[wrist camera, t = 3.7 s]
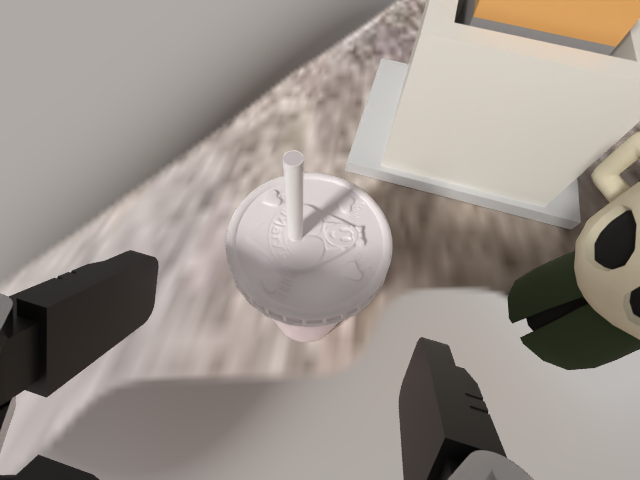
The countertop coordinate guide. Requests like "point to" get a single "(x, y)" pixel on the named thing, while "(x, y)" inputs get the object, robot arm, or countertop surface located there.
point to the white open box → (496, 116)
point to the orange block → (556, 20)
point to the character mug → (590, 280)
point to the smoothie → (308, 250)
